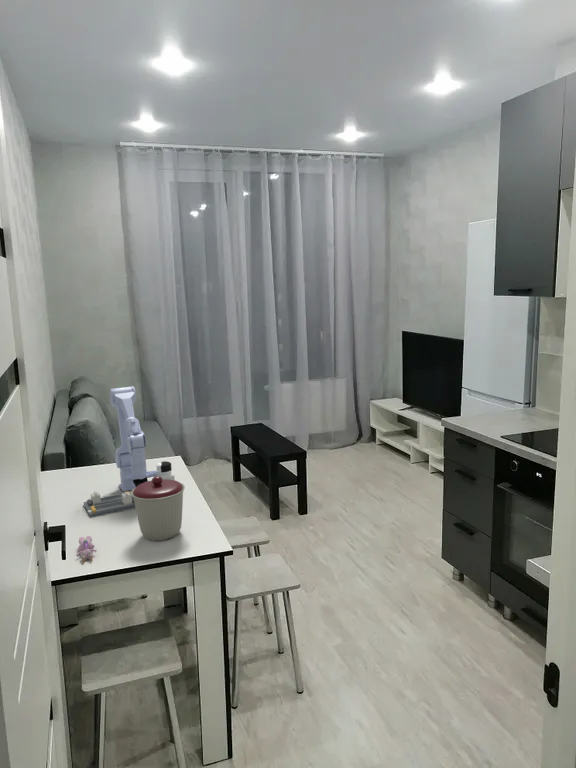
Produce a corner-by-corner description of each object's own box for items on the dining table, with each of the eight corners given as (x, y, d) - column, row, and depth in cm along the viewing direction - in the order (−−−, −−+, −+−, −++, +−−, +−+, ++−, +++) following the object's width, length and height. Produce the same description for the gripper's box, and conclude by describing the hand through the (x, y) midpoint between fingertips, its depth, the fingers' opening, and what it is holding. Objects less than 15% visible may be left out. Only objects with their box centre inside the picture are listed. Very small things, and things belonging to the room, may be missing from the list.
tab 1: (91, 501, 234) (90, 492, 234) (99, 499, 236) (98, 490, 235) (93, 504, 231) (92, 495, 230) (100, 502, 232) (100, 493, 232)
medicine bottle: (173, 486, 252) (171, 459, 250) (175, 491, 246) (173, 463, 244) (156, 488, 250) (154, 461, 248) (158, 494, 243) (155, 466, 241)
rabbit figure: (98, 564, 187) (95, 539, 200) (96, 548, 185) (93, 524, 198) (77, 568, 185) (75, 542, 198) (75, 552, 183) (74, 527, 196)
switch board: (83, 504, 235) (83, 499, 234) (133, 494, 244) (133, 489, 243) (90, 517, 221) (89, 512, 221) (143, 506, 231) (142, 500, 230)
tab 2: (122, 501, 232) (121, 492, 231) (129, 500, 233) (128, 491, 233) (124, 505, 229) (123, 495, 228) (132, 503, 230) (131, 494, 229)
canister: (145, 523, 214) (140, 468, 210) (194, 523, 212) (189, 467, 208) (126, 545, 196) (121, 485, 192) (179, 546, 194) (174, 485, 190)
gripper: (122, 469, 224) (125, 503, 227) (159, 463, 231) (162, 495, 233) (118, 465, 230) (121, 498, 233) (154, 458, 237) (157, 490, 239)
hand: (141, 496), depth 233 cm, fingers closed
